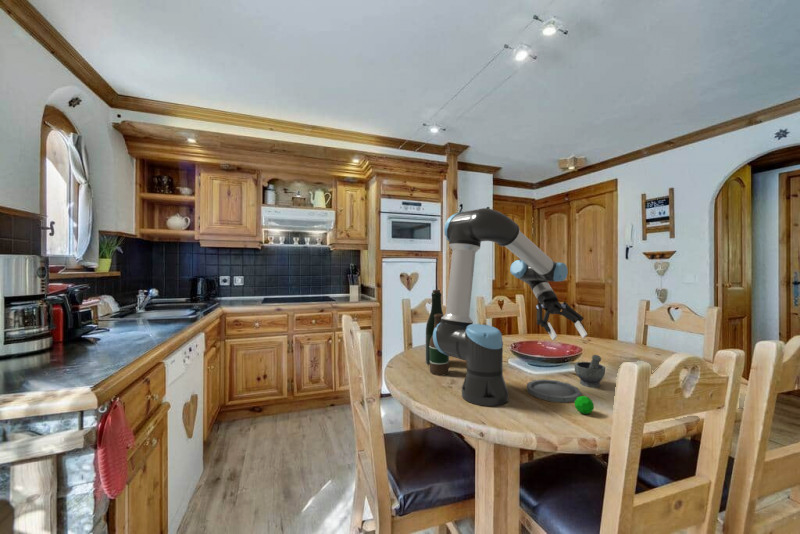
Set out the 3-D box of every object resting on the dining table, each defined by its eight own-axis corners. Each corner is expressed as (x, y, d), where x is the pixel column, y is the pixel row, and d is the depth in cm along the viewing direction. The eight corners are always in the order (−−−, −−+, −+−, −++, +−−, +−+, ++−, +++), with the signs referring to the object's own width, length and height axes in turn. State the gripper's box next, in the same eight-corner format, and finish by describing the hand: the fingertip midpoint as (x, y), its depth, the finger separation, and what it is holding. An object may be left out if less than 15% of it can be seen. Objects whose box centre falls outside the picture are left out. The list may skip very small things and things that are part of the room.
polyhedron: (576, 407, 103) (576, 392, 103) (595, 412, 99) (595, 396, 99) (573, 413, 99) (572, 397, 99) (591, 418, 96) (591, 401, 96)
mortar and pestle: (570, 379, 127) (570, 348, 127) (596, 379, 126) (596, 348, 126) (584, 390, 116) (584, 356, 116) (612, 391, 115) (612, 356, 115)
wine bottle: (446, 359, 155) (445, 288, 155) (451, 366, 145) (450, 290, 144) (424, 360, 155) (423, 289, 154) (427, 367, 144) (426, 290, 144)
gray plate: (568, 406, 103) (568, 402, 103) (518, 392, 115) (518, 387, 115) (587, 392, 114) (587, 388, 114) (540, 380, 126) (540, 376, 126)
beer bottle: (439, 377, 132) (438, 316, 131) (425, 372, 138) (425, 314, 137) (452, 372, 136) (452, 314, 136) (438, 368, 142) (438, 312, 142)
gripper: (566, 299, 150) (592, 340, 136) (516, 301, 145) (537, 344, 131) (574, 288, 145) (602, 330, 131) (523, 290, 140) (546, 333, 125)
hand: (570, 337), depth 131 cm, fingers open, 13 cm apart
